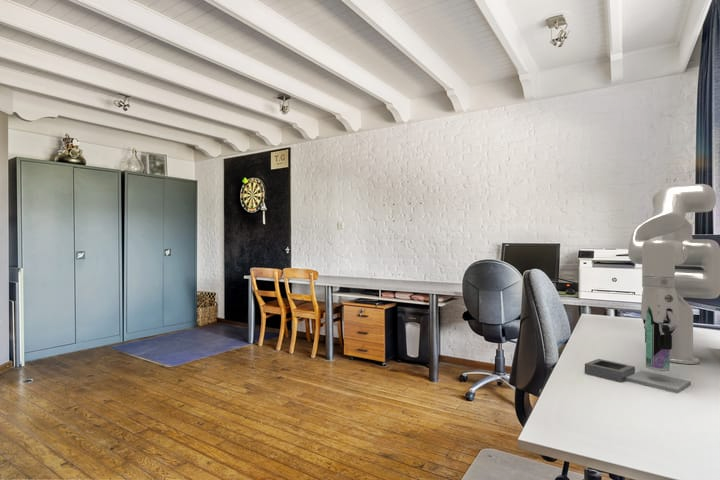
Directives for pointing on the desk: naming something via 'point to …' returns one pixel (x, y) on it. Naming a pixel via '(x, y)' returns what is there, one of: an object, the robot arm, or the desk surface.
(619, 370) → the grey square frame
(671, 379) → the mat
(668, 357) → the spray can
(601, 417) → the desk surface
